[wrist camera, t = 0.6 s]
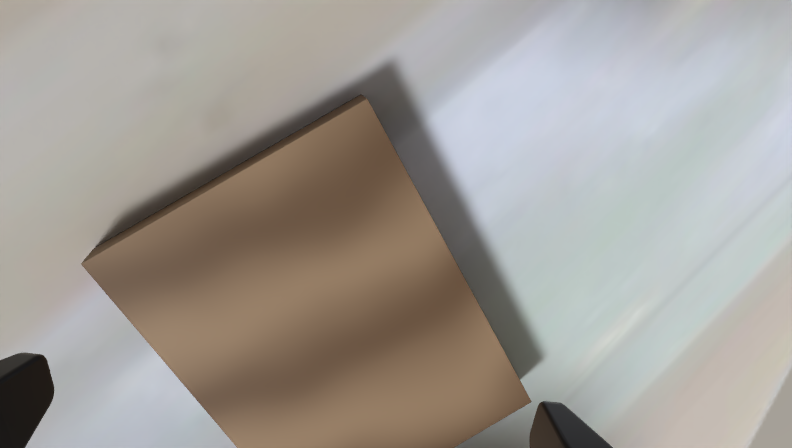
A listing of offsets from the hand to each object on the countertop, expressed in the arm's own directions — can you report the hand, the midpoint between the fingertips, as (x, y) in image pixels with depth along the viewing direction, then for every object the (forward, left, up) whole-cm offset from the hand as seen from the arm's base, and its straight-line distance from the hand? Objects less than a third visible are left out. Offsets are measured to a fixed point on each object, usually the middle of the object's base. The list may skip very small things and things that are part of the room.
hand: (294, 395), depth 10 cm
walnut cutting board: (+6, -1, -14) cm, 15 cm away
